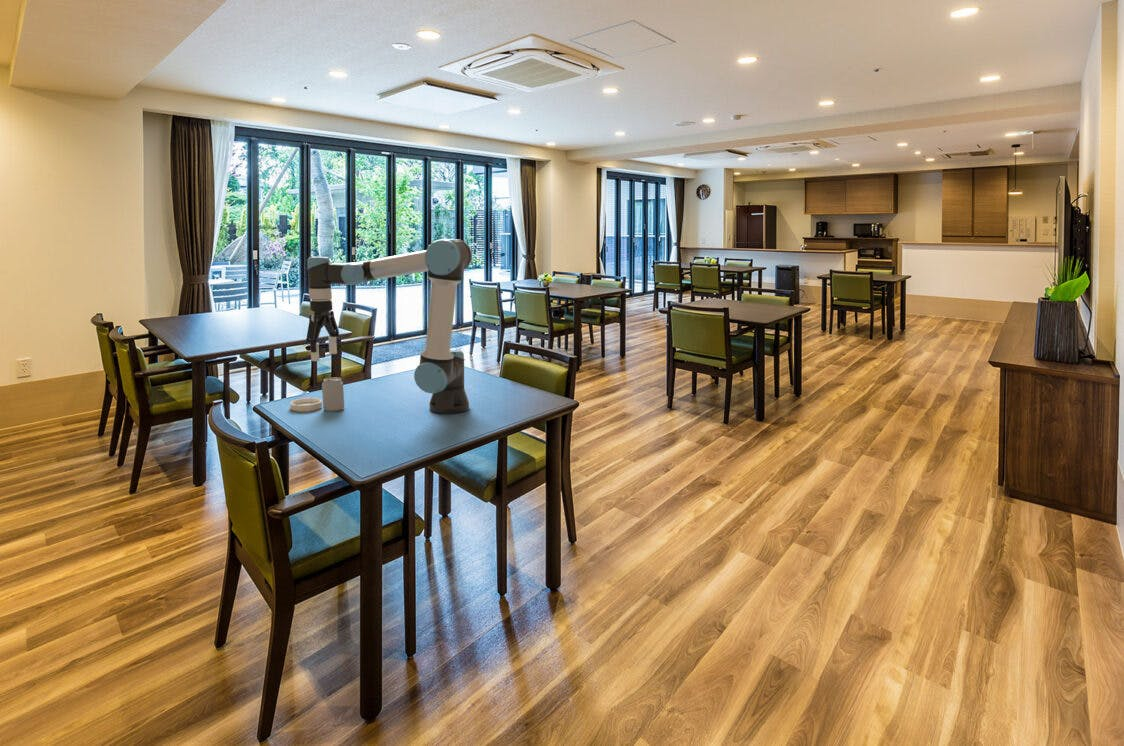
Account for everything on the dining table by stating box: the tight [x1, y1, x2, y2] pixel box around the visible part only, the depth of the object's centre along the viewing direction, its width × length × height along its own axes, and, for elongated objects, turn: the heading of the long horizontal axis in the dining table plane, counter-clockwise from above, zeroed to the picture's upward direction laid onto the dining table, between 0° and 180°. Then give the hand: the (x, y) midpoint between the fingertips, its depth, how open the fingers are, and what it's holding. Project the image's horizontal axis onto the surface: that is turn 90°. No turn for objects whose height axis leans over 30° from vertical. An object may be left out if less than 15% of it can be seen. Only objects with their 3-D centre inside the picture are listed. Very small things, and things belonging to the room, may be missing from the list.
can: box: [321, 376, 345, 413], centre depth 232 cm, size 8×8×12 cm
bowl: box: [290, 397, 323, 413], centre depth 234 cm, size 11×11×2 cm
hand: (324, 357), depth 228 cm, fingers open, 13 cm apart
